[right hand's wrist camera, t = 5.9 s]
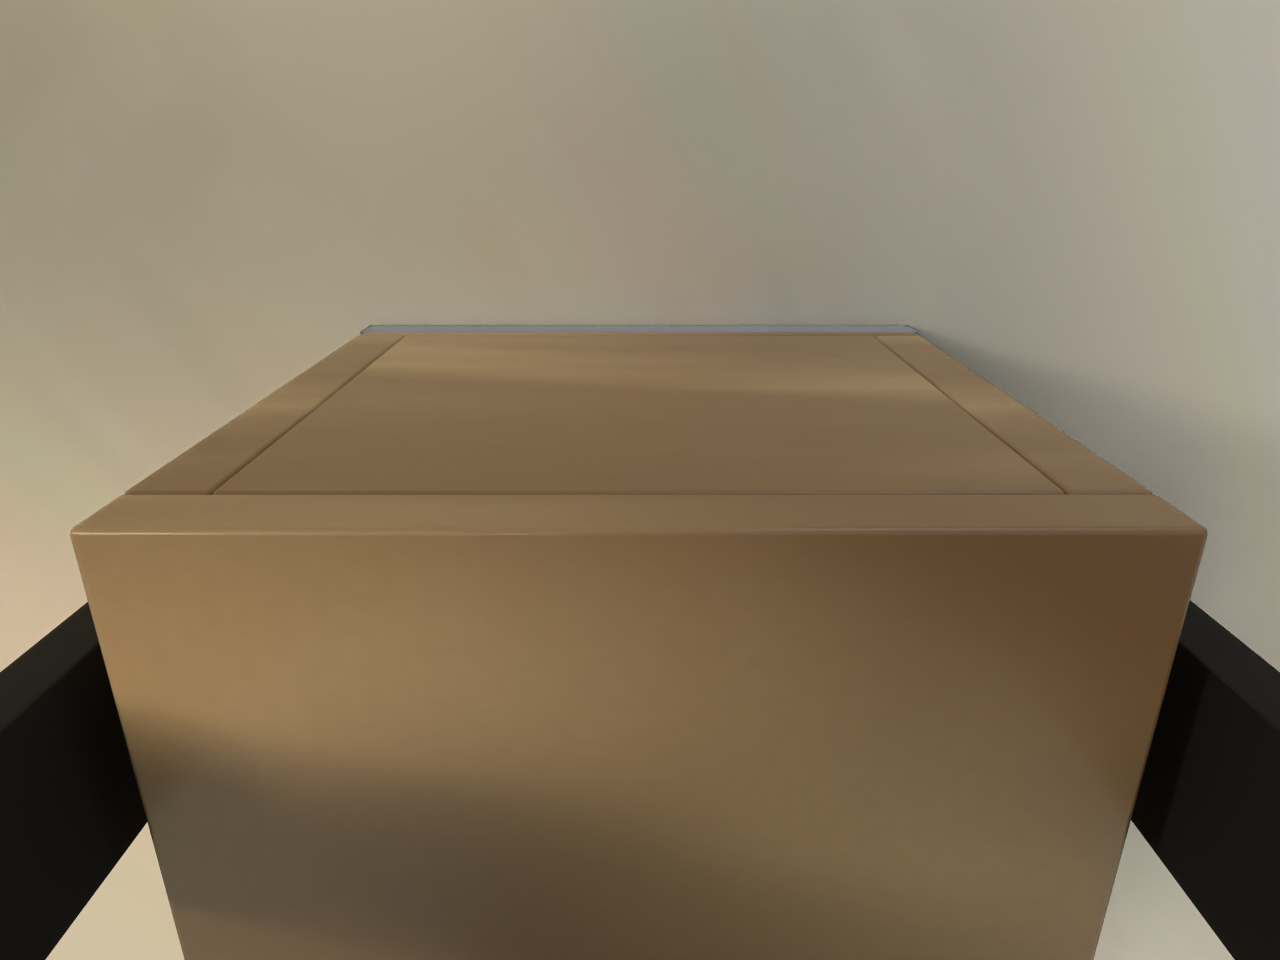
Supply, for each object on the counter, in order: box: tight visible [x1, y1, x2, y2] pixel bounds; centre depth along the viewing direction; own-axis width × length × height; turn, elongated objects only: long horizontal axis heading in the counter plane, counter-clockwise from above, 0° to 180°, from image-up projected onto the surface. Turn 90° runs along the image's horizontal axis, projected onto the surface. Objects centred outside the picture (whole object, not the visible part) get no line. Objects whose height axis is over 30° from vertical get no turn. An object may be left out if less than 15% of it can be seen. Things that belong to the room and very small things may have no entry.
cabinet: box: [70, 325, 1207, 960], centre depth 17 cm, size 17×12×10 cm
